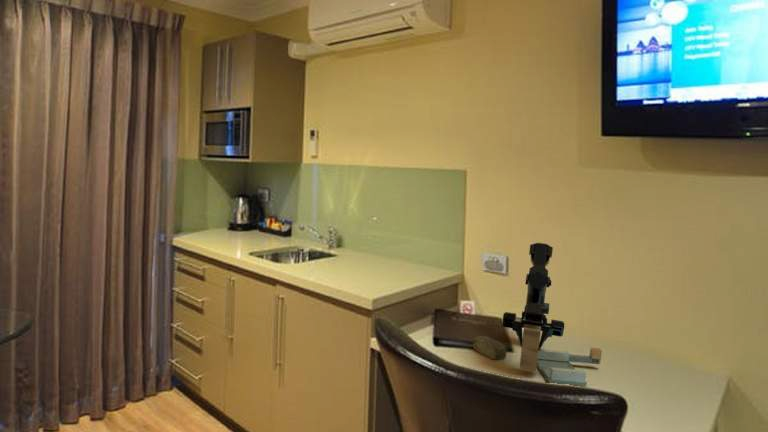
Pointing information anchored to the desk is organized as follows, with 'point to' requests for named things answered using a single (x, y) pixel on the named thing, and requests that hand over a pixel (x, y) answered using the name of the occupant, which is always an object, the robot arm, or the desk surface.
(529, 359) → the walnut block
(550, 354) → the light brown wooden block
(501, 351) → the stone block
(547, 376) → the frosted green glass slab
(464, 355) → the desk surface
